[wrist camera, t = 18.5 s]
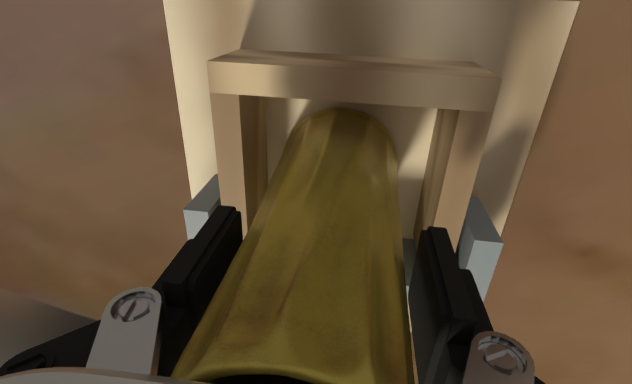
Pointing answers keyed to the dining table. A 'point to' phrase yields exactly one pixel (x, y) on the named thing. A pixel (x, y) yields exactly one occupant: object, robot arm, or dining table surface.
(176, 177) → the dining table surface
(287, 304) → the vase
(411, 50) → the board
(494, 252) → the grey bracket
